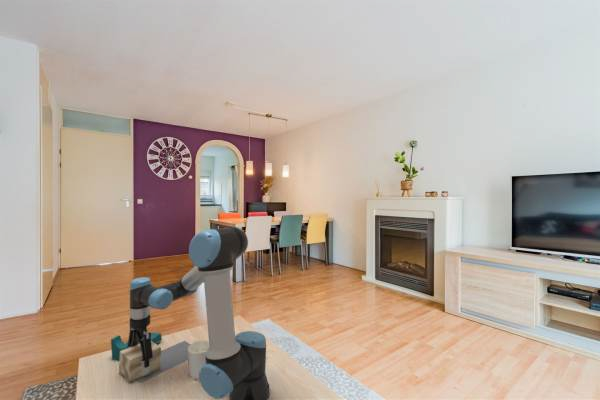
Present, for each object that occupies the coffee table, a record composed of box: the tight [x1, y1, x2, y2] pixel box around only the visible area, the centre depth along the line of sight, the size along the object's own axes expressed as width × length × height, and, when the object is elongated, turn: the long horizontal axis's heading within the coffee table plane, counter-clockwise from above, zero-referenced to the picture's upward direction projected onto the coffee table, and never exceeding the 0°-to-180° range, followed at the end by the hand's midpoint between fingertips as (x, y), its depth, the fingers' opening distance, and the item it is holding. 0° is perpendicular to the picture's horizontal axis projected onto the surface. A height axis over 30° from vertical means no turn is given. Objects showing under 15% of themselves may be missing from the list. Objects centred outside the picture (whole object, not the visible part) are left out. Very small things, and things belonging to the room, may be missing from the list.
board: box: [136, 340, 192, 384], centre depth 126 cm, size 16×28×2 cm, turn 143°
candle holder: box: [187, 340, 209, 382], centre depth 118 cm, size 10×10×12 cm
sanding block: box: [118, 341, 162, 384], centre depth 117 cm, size 10×12×9 cm
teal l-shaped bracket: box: [110, 331, 163, 362], centre depth 132 cm, size 18×11×10 cm, turn 167°
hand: (139, 368), depth 117 cm, fingers closed on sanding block, 10 cm apart
